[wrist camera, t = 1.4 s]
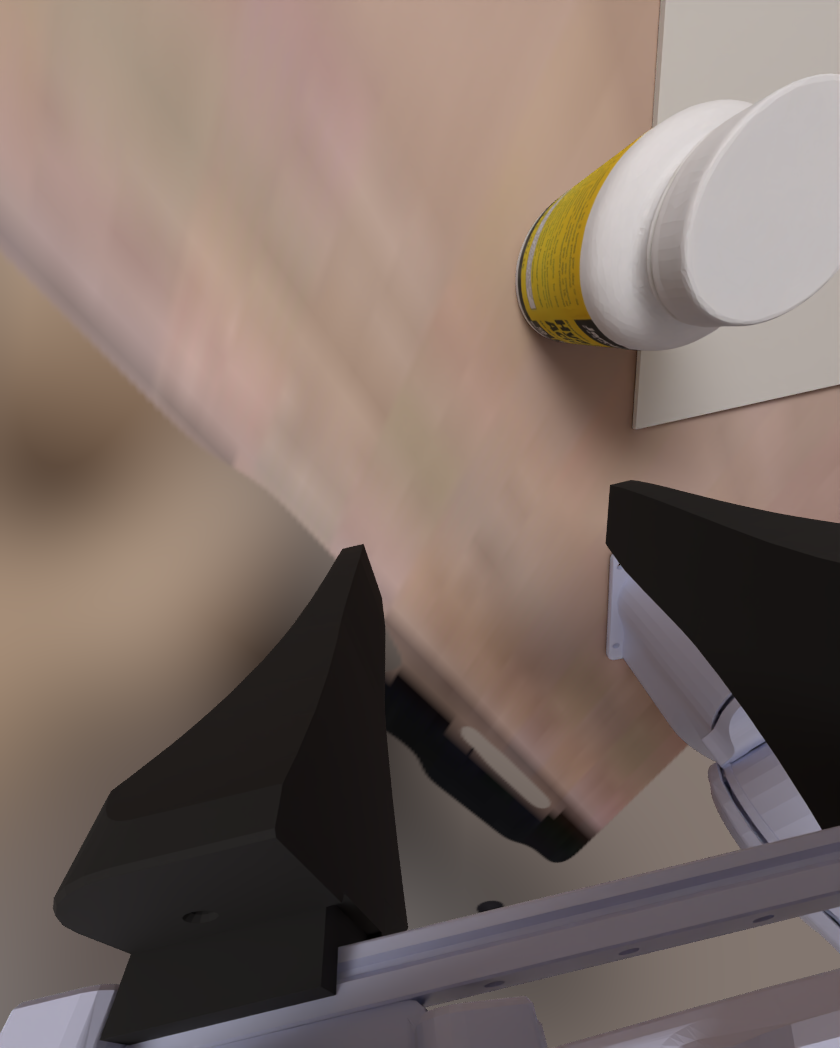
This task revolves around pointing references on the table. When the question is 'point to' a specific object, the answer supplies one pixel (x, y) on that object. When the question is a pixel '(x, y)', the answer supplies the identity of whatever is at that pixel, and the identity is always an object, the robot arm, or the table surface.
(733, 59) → the grey mat
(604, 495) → the table surface
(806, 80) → the supplement bottle
